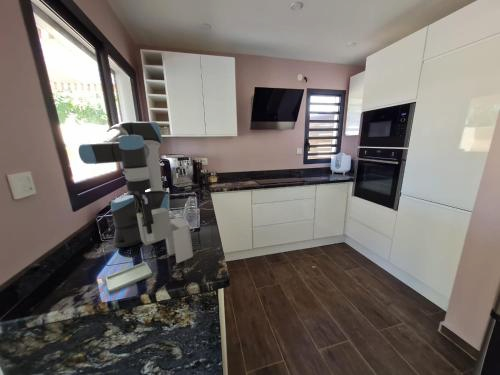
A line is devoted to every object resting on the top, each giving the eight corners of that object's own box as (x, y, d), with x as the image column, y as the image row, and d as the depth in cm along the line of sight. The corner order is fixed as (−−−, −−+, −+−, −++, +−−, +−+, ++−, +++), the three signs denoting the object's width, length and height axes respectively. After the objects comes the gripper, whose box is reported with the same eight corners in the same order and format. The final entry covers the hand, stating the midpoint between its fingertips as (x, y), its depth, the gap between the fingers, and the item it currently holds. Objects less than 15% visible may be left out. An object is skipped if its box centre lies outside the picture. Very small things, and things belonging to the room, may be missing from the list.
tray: (105, 279, 72) (105, 277, 72) (145, 264, 81) (145, 261, 80) (109, 293, 65) (108, 290, 65) (152, 275, 74) (152, 272, 73)
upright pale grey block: (141, 240, 77) (136, 213, 75) (167, 231, 84) (163, 206, 81) (145, 245, 73) (140, 216, 70) (172, 236, 79) (168, 209, 77)
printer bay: (167, 252, 89) (163, 221, 85) (182, 247, 93) (178, 217, 90) (177, 263, 80) (172, 229, 77) (193, 256, 85) (189, 224, 82)
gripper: (120, 178, 75) (131, 233, 80) (132, 184, 61) (144, 250, 66) (142, 175, 80) (151, 227, 85) (157, 180, 66) (166, 242, 71)
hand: (148, 237), depth 76 cm, fingers closed on upright pale grey block, 6 cm apart
